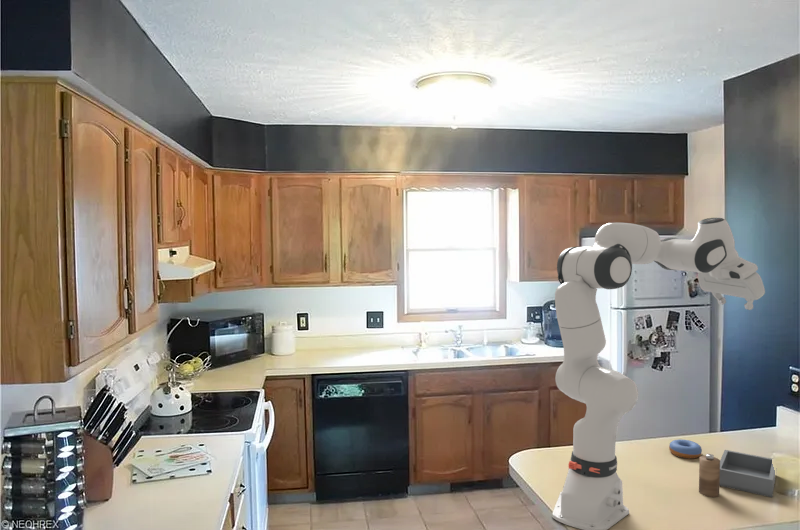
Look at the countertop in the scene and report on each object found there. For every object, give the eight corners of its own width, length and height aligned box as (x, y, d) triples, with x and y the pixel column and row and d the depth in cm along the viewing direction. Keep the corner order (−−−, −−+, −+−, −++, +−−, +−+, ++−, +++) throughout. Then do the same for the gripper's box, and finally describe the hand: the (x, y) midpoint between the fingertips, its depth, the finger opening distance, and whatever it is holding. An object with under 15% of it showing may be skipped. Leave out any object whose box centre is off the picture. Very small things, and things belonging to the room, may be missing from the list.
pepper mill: (717, 498, 163) (718, 460, 162) (697, 494, 166) (698, 456, 165) (720, 492, 167) (721, 454, 166) (700, 487, 170) (701, 450, 170)
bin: (772, 497, 163) (772, 480, 163) (716, 485, 172) (716, 468, 171) (776, 475, 178) (776, 459, 178) (724, 464, 186) (724, 449, 186)
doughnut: (708, 459, 190) (707, 445, 191) (678, 461, 190) (676, 447, 191) (693, 450, 200) (692, 437, 201) (664, 452, 200) (663, 439, 201)
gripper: (689, 267, 184) (700, 305, 188) (747, 275, 165) (758, 317, 169) (703, 258, 186) (714, 296, 189) (762, 265, 167) (773, 306, 170)
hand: (735, 306), depth 179 cm, fingers open, 8 cm apart
